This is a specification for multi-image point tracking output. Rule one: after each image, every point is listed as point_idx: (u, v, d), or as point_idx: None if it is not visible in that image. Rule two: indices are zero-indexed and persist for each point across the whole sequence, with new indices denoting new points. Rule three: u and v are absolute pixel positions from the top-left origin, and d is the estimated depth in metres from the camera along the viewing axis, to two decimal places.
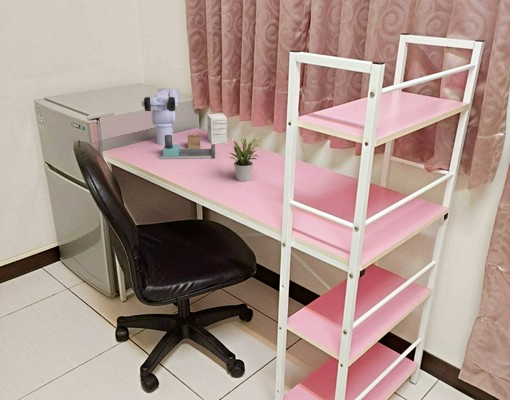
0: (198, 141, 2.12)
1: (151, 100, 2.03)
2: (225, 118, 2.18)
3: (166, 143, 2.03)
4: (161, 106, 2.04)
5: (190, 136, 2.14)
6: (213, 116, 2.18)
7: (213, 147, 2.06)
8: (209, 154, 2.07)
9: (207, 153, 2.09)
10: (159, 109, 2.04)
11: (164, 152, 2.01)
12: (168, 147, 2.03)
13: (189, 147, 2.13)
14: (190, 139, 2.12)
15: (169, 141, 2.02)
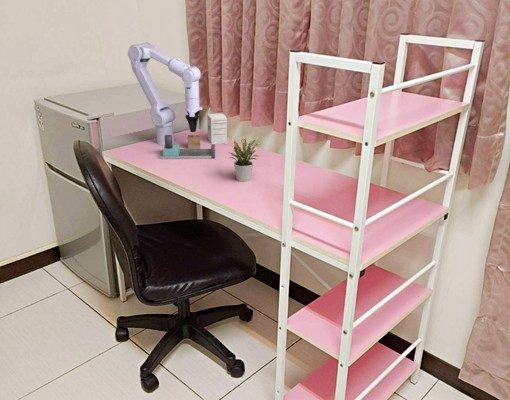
0: (198, 141, 2.12)
1: None
2: (225, 118, 2.18)
3: (166, 143, 2.03)
4: None
5: (190, 136, 2.14)
6: (213, 116, 2.18)
7: (213, 147, 2.06)
8: (209, 154, 2.07)
9: (207, 153, 2.09)
10: None
11: (164, 152, 2.01)
12: (168, 147, 2.03)
13: (189, 147, 2.13)
14: (190, 139, 2.12)
15: (169, 141, 2.02)
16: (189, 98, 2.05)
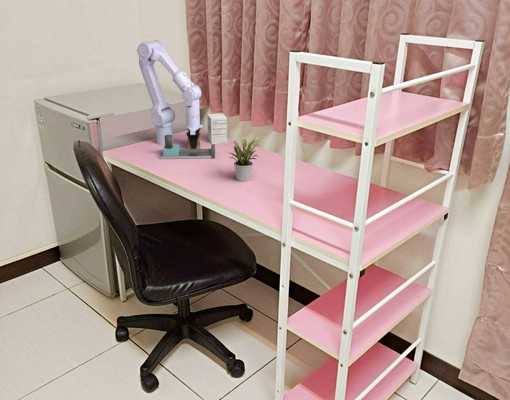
0: (198, 141, 2.12)
1: None
2: (225, 118, 2.18)
3: (166, 143, 2.03)
4: None
5: None
6: (213, 116, 2.18)
7: (213, 147, 2.06)
8: (209, 154, 2.07)
9: (207, 153, 2.09)
10: None
11: (164, 152, 2.01)
12: (168, 147, 2.03)
13: (189, 147, 2.13)
14: None
15: (169, 141, 2.02)
16: (190, 116, 2.08)
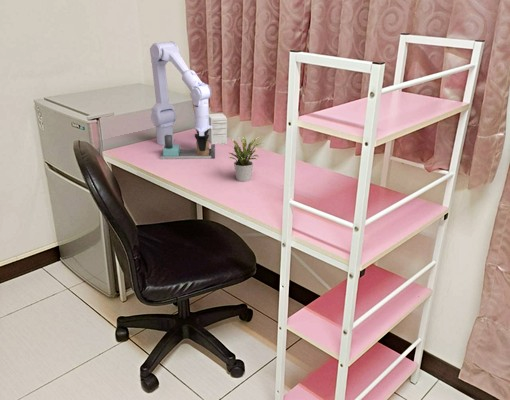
0: (207, 146, 2.03)
1: None
2: (225, 118, 2.18)
3: (166, 143, 2.03)
4: None
5: None
6: (214, 116, 2.18)
7: (213, 147, 2.06)
8: (209, 154, 2.07)
9: None
10: None
11: (164, 152, 2.01)
12: (168, 147, 2.03)
13: (198, 152, 2.04)
14: None
15: (169, 141, 2.02)
16: (198, 116, 1.98)
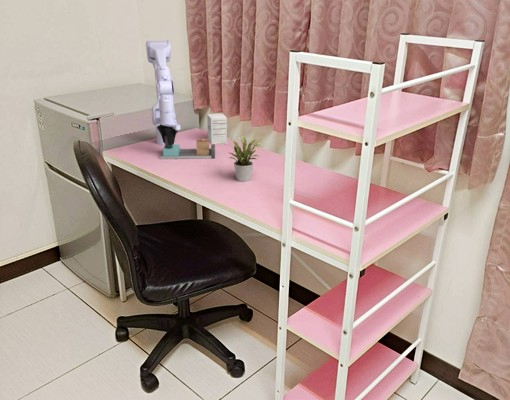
0: (207, 146, 2.03)
1: None
2: (225, 118, 2.18)
3: (166, 143, 2.03)
4: None
5: (199, 141, 2.04)
6: (213, 116, 2.18)
7: (213, 147, 2.06)
8: (209, 154, 2.07)
9: None
10: None
11: (164, 152, 2.01)
12: (168, 147, 2.03)
13: (198, 152, 2.04)
14: (199, 143, 2.03)
15: None
16: (168, 112, 1.96)
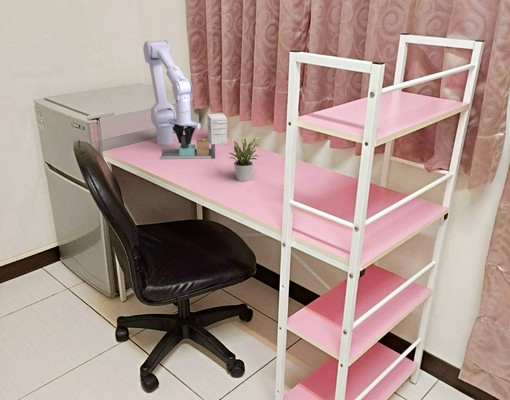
0: (207, 146, 2.03)
1: None
2: (225, 118, 2.18)
3: (182, 143, 2.03)
4: None
5: (199, 141, 2.04)
6: (214, 116, 2.18)
7: (213, 147, 2.06)
8: (209, 154, 2.07)
9: None
10: None
11: (180, 152, 2.02)
12: (184, 147, 2.04)
13: (198, 152, 2.04)
14: (199, 143, 2.03)
15: (185, 141, 2.03)
16: (187, 111, 1.97)
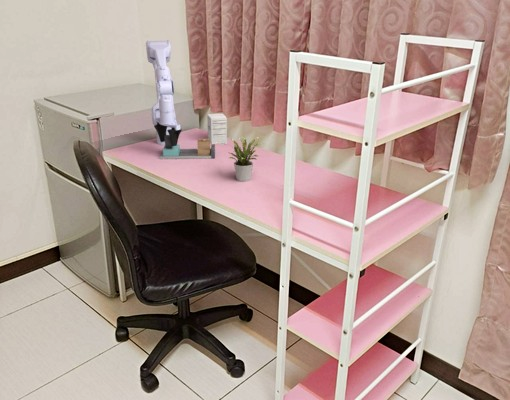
0: (208, 146, 2.03)
1: None
2: (225, 118, 2.18)
3: (166, 143, 2.03)
4: None
5: (200, 141, 2.04)
6: (214, 116, 2.18)
7: (213, 147, 2.06)
8: None
9: None
10: None
11: (164, 152, 2.01)
12: (168, 147, 2.03)
13: (199, 152, 2.04)
14: (200, 143, 2.03)
15: (169, 141, 2.02)
16: (168, 112, 1.96)
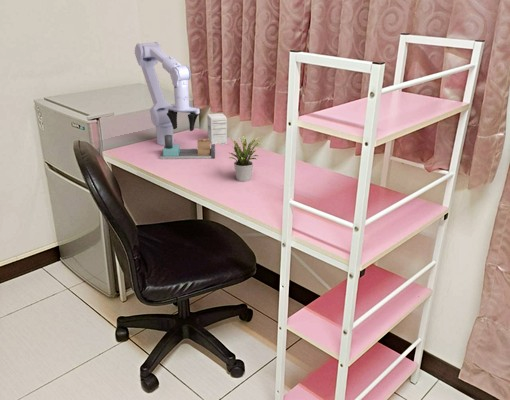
0: (208, 146, 2.03)
1: None
2: (225, 118, 2.18)
3: (166, 143, 2.03)
4: None
5: (200, 141, 2.04)
6: (213, 116, 2.18)
7: (213, 147, 2.06)
8: None
9: None
10: None
11: (164, 152, 2.01)
12: (168, 147, 2.03)
13: (199, 152, 2.04)
14: (200, 143, 2.03)
15: (169, 141, 2.02)
16: (186, 97, 2.00)
